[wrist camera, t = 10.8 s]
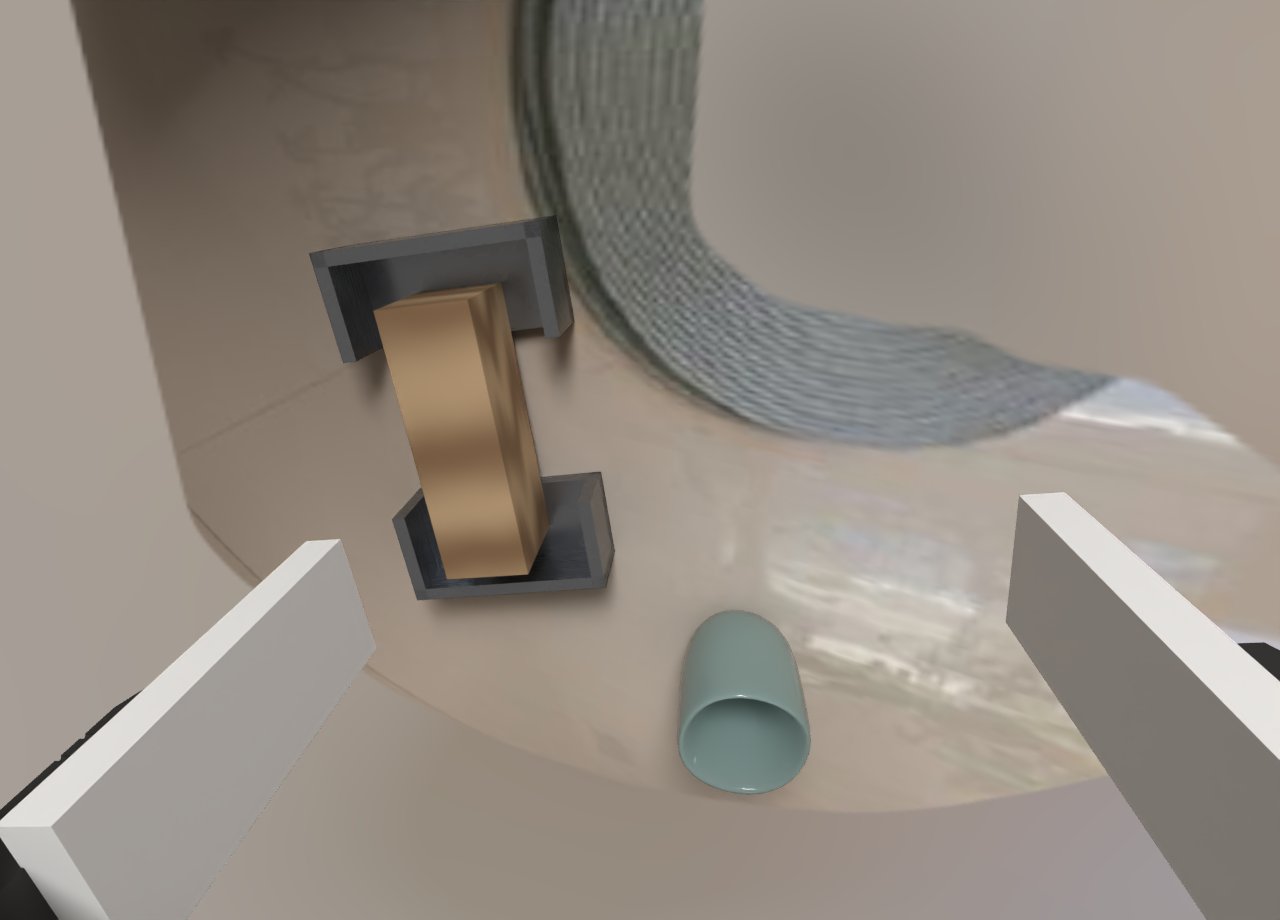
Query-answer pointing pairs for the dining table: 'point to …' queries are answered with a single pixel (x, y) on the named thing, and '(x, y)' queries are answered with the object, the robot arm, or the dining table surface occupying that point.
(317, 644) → the robot arm
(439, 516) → the wooden block
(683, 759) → the cup
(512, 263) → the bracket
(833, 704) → the dining table surface
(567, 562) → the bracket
